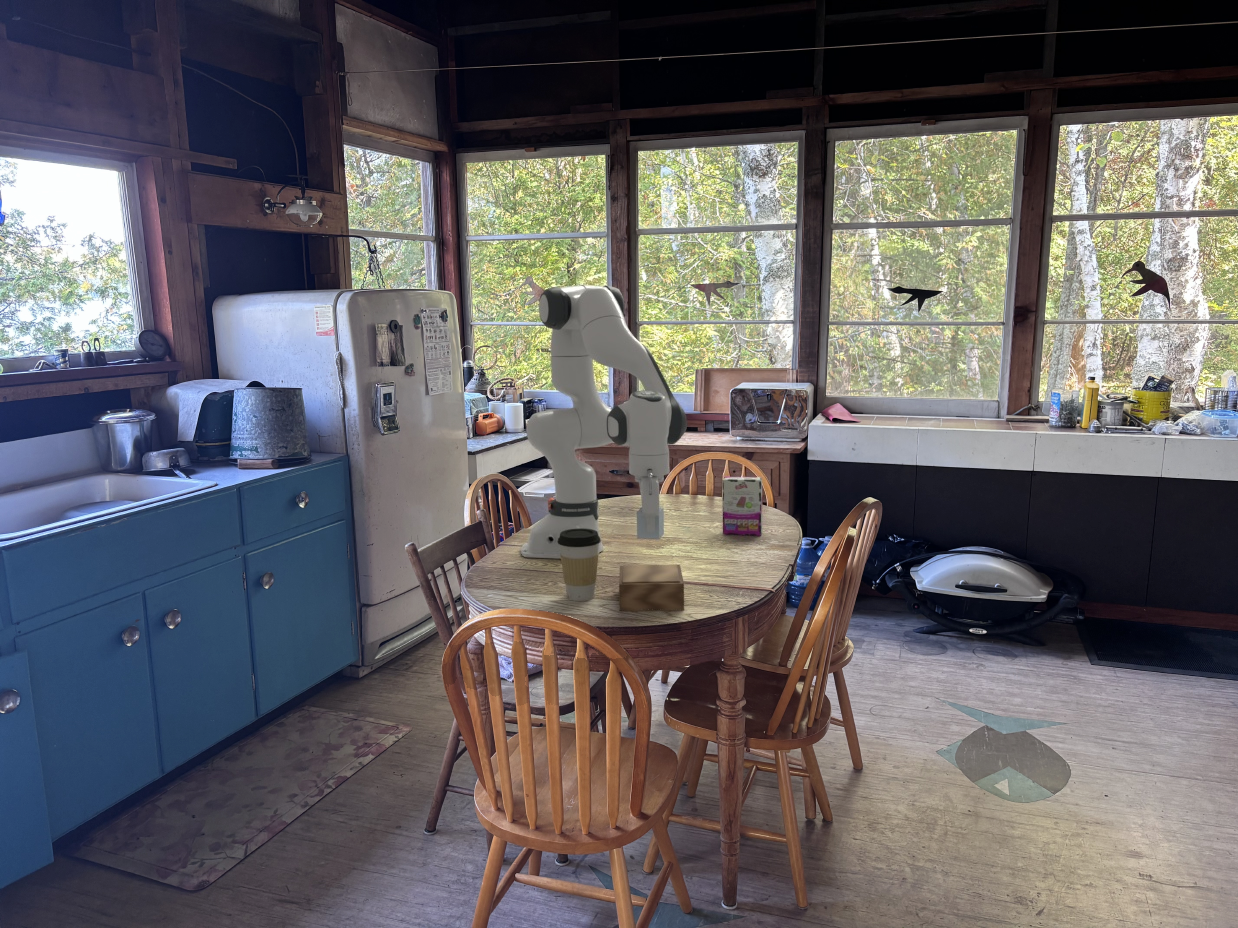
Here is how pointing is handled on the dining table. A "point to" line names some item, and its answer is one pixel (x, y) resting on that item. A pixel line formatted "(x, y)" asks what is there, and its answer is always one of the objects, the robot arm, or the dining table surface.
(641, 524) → the painted block
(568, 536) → the coffee cup
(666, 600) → the block
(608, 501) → the dining table surface
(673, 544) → the dining table surface
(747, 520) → the candy bar box
